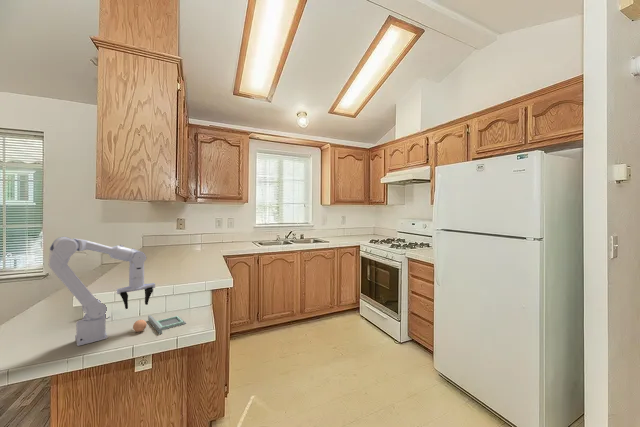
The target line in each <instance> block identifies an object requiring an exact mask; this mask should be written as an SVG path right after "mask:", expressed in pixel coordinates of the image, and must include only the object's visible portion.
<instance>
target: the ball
mask: <svg viewBox="0 0 640 427" xmlns="http://www.w3.org/2000/svg"><path fill="white" fill-rule="evenodd" d="M146 328H147V321H146V320H144V319H138V320H136V321H134V323H133V324H132V329H133V331H134V332H137V333H141V332H143V331H144V330H145V329H146Z"/></svg>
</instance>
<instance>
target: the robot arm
mask: <svg viewBox="0 0 640 427" xmlns="http://www.w3.org/2000/svg"><path fill="white" fill-rule="evenodd" d="M87 250H88V251H93V252H98V253H103V254H106V255H109V258H110V259H114V260H118V261H123V262H129V267H128V268H129V269H128V272H129V273H128V286H125V287H121V288H116V295H119V296H120V297H121V299H122V301H123V304H124V309H125V310H127V309H128V308H129V303H128V302H129V294H128V293H129V292H136V291H142V290H144V305H146V306H147V305H149V302H150V300H149V299H150V298H151V295H152V294H153V292H154V289H155V288H156V283H155V282H152V283H145V262H146V260H147V259H148V258H147V256H146V253H144V251H141V250H138V249H136V248H133V247H132V248H130V247H126V246H125V245H123V244H119V245H118V244H117V245H113V246H109V245H106V244H105V245H104V244H102V243H99V242H94V241H91V240H88V239H83V238H74V237H73V238H71V237H68V236H61V237H57V238H56V239H54V240H53V242H52V244H51V245H50V246H49V253H48V254H49V256H48V257H49V258H48V267H49V268H50V269H51V271H52V272H53V273H54V275H56V277H57V278H58V279H59V280H60V281H61V283H62V284H64V286H65V287H66V288H67V289H68V291H69V292H70V293H71V294H72V295H73V297H75V299H76V300H77V301H78V302H79V304H80V305H81V307H82V308H81V309H82V311H83V313H85V314H84V316H83V317H82V319H79V320H76V322H75V323H76V324H75V327H76V329H75V331H76V333H75V341H76V345H77V347H79V346H83V345H87V344H90V343H91V344H92V343H95V342H98V341H99V342H100V341H103V340H106V339H108V337H109V336H108V334H107V330H106V329H107V328H106V324H107V323H106V319H107V318H106V314H105V313H106V311H107V307H106V305H105V304H103V303H101V301H100V300H98V299H96V298H95V297H94V296H95V295H93V294H92V292H91V291H90V290H89V289H88V288H87V286H86V285H85V284H84V283H83V282H82V280H81V279H80V277H78V276H77V275H76V273H75V271H73V269H72V268H71V267H70V266H69V264H68V263H69V262H70V259H71V257H72V256H73V255H74V254H75V253H76V252H83V251H87ZM128 310H129V309H128Z"/></svg>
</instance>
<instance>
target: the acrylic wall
mask: <svg viewBox="0 0 640 427" xmlns="http://www.w3.org/2000/svg"><path fill="white" fill-rule="evenodd" d="M147 317H148V318H147V320H148V322H149V324H150V325H151V326H152V327H153V328H154V329H155V330H156V332H157V333H158V334H159V335H162V334H163V330H162V327H161V326H160V325H159V324H158V323H157V321H158V320H156V319H155V318H154V317H153V316H152V315H151V314H148V316H147Z"/></svg>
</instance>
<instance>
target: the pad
mask: <svg viewBox="0 0 640 427" xmlns="http://www.w3.org/2000/svg"><path fill="white" fill-rule="evenodd" d="M156 321H157V323H158V324H159V325H160V326H161V327H162V331H164V330H167V329H171V328H175V327H179V326H183V325H186V324H187V323H186V321H185V320H183V319H182V318H181V317H180V316H179V315H174V316H170V317H167V318H163V319H160V320H156Z"/></svg>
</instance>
